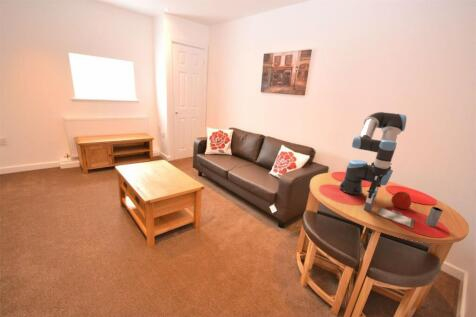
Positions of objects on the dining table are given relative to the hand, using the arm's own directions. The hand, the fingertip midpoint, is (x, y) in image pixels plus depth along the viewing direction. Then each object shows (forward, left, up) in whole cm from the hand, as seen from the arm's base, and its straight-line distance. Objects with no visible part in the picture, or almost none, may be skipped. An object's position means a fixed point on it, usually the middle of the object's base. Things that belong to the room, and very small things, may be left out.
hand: (371, 199), depth 127 cm
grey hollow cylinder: (+29, +12, -8) cm, 33 cm away
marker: (0, 0, -8) cm, 8 cm away
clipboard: (+13, +4, -8) cm, 16 cm away
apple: (+13, +23, -8) cm, 28 cm away
